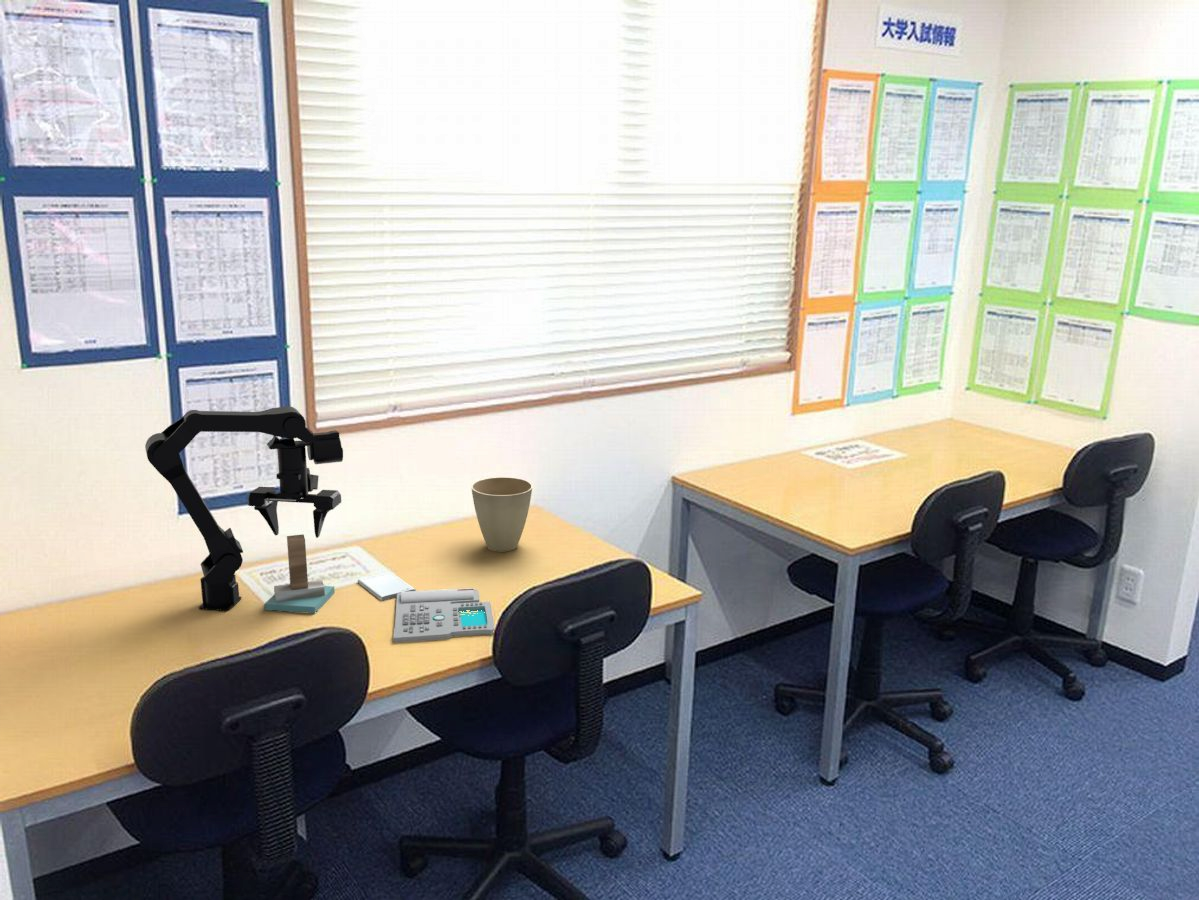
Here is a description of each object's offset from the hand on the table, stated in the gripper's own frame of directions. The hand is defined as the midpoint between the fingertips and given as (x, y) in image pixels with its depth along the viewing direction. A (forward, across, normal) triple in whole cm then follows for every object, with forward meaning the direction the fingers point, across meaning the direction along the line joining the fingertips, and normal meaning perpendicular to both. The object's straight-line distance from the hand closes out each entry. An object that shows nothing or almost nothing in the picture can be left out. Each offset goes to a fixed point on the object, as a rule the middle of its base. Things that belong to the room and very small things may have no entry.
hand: (297, 535), depth 215 cm
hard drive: (+14, -18, -5) cm, 23 cm away
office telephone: (+14, -34, +7) cm, 37 cm away
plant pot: (+13, -38, -34) cm, 53 cm away
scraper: (+12, -2, +5) cm, 13 cm away
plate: (+13, -2, +5) cm, 14 cm away
